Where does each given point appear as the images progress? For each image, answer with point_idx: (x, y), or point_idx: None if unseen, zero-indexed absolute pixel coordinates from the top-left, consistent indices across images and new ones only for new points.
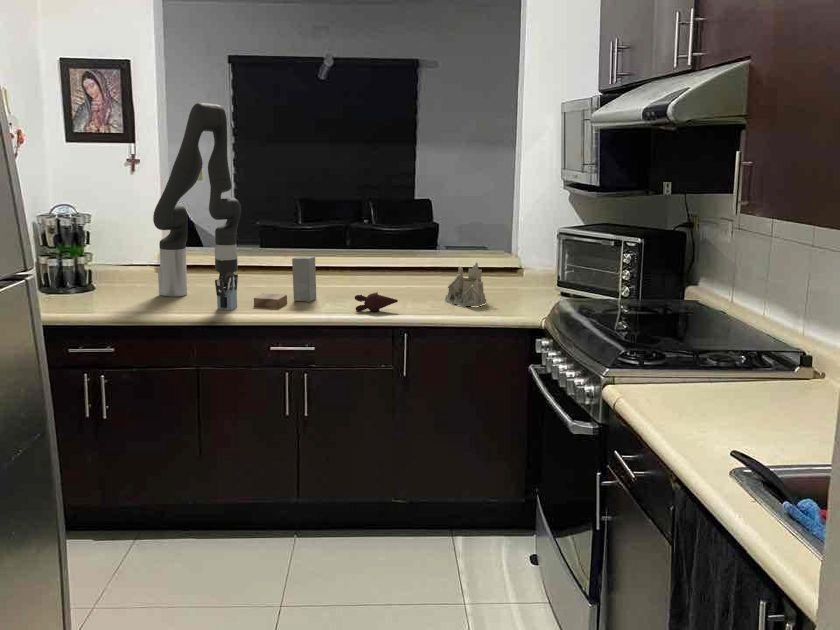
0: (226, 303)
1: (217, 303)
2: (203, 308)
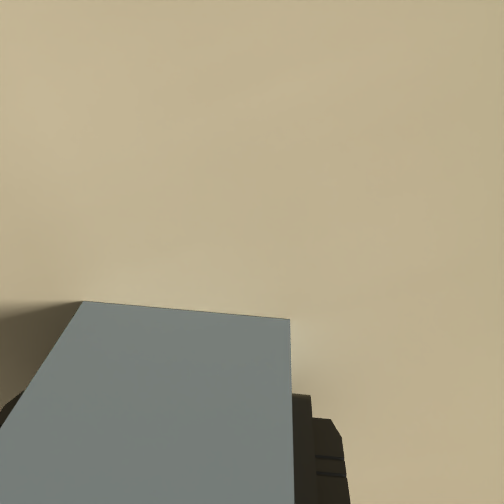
0: None
1: (49, 356)
2: (31, 88)
